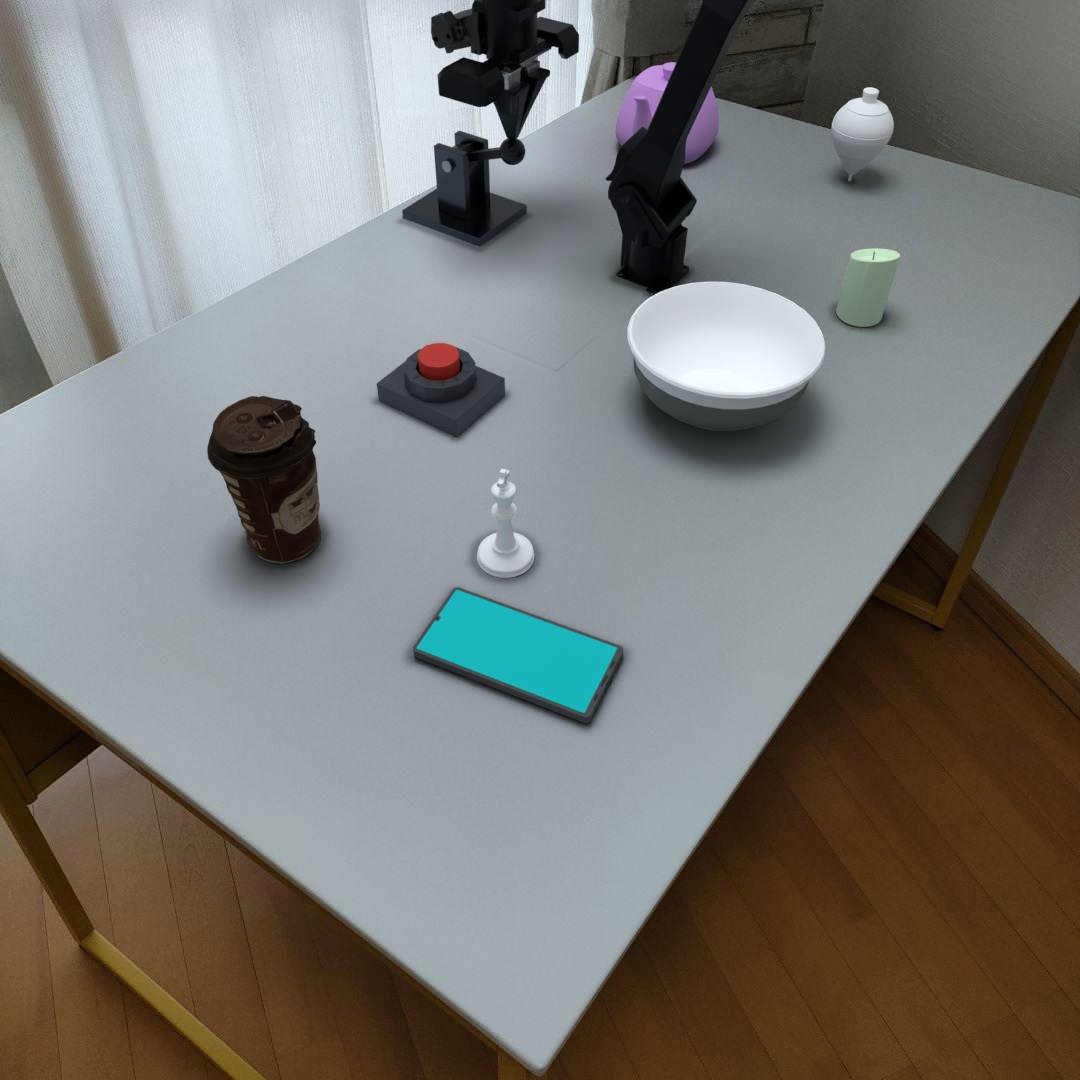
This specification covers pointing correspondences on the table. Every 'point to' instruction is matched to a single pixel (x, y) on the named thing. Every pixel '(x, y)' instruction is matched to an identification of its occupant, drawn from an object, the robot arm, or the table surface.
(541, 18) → the robot arm
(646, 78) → the teapot
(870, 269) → the candle
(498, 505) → the chess piece
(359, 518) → the table surface
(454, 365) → the red button
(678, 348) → the bowl
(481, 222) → the lever bracket
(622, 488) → the table surface
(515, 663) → the smartphone
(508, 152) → the black lever
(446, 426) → the control block
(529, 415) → the table surface
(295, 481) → the coffee cup
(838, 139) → the spinning top
